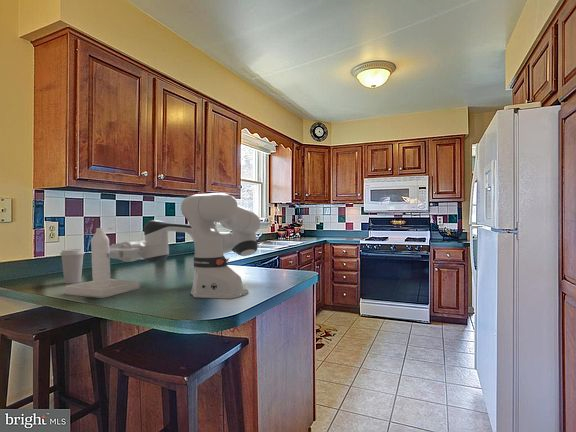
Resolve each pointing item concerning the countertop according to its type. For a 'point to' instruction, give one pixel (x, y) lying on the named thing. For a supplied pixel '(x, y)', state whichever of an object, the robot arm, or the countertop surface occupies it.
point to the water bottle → (100, 259)
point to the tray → (88, 290)
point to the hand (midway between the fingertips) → (101, 254)
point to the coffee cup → (72, 265)
